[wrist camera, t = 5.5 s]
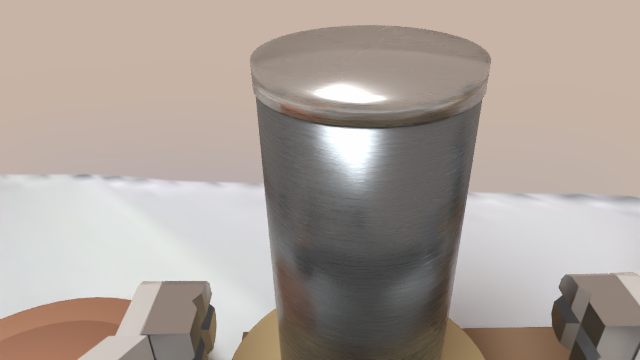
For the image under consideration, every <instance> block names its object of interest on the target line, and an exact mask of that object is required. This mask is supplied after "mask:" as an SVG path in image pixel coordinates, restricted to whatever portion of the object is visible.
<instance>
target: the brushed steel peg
mask: <svg viewBox="0 0 640 360" xmlns="http://www.w3.org/2000/svg"><path fill="white" fill-rule="evenodd" d="M490 63H491V58H490V56H489V54H488V52H487V51H486V50H485V49H483V48H482V47H481V46H479V45H477V44H475V43H474V42H471V41H469V40H467V39H464V38H461V37H458V36H454V35H450V34H447V33H442V32H437V31H432V30H426V29H419V28H410V27H399V26H375V25H367V26H366V25H365V26H364V25H363V26H341V27H329V28H320V29H313V30H307V31H302V32H297V33H293V34H289V35H285V36H282V37H279V38H276V39H273V40H271V41H269V42H266V43H264V44H263V45H261V46H260V47H258V48H257V49H256V50H255V51H254V52H253V53H252V55H251V58H250V65H251V75H252V86H253V91H254V94H255V95H256V102H257V112H258V122H259V123H258V124H259V134H260V145H261V154H262V165H263V175H264V186H265V197H266V207H267V217H268V228H269V238H270V249H271V259H272V269H273V280H274V290H275V301H276V311H277V321H278V332H279V342H280V353H281V360H441V359H442V352H443V346H444V339H445V333H446V327H447V320H448V314H449V308H450V301H451V295H452V289H453V282H454V276H455V269H456V263H457V257H458V250H459V244H460V238H461V231H462V225H463V219H464V212H465V206H466V199H467V193H468V187H469V180H470V174H471V167H472V161H473V155H474V148H475V142H476V136H477V129H478V123H479V116H480V110H481V104H482V99H483V97H484V95H485V93H486V89H487V82H488V76H489V70H490Z"/></svg>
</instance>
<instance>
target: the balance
mask: <svg viewBox="0 0 640 360" xmlns="http://www.w3.org/2000/svg"><path fill="white" fill-rule="evenodd" d="M570 353H571V351H570V350H569V349H567V348H566V347H564V346H563V345H562V344H560V343H559V341H558V339H557V337H556V335H555V332H554V329H553V327H524V328H464V329H461V328H460V327H459V326H458V325H457V324H455V323H454V322H453V321H452V320H451V319H449V318H448V320H447V327H446V333H445V339H444V346H443V352H442V359H441V360H569V357H570ZM232 360H281V353H280V342H279V332H278V321H277V311H276V309H275V310H273V311H272V312H270V313H269V314H268V315H266V316H265V317H264V318H263V319H261V320H260V321H259V322H258V323H257V324H256V325H255V326H254V327H253V328H252V329H251V330H250V332H243V337H242V342H241V344H240V345H239V347H238V349H237V350H236V352H235V354H234V356H233V358H232Z"/></svg>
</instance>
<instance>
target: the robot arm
mask: <svg viewBox="0 0 640 360" xmlns="http://www.w3.org/2000/svg"><path fill="white" fill-rule="evenodd" d="M559 289H560V291H561V292H562V294H563V295H562V296H561V297H560V298H559V299H557V300H556V301H555V302H554V305H553V309H552V313H551V314H552V326H553V329H554V332H555V335H556V337H557V339H558V341H559V343H560V344H562V345H563V346H564V347H566V348H567V349H569V350H570V351H571V353H570V357H569V360H640V276H639V275H637V274H635V273H633V272H628V273H610V274H569V275H565V276H564V277H563V278H562V279H561V282H560V285H559ZM211 295H212V292H211V288H210V284H209V283H208V282H207V281H165V282H149V281H143V282H142V283H141V284H140V285H139V286H138V288H137V290H136V292H135V294H134V297H133V299H132V301H131V303H130V305H129V307H128V309H127V312H126V314H125V316H124V318H123V320H122V322H121V324H120V326H119V329H118V331H117V333H116V335H115V336H108V337H107V338H105V339H104V340H103V341H101V342H100V343H99V344H97V345H96V346H95V347H93V348H92V349H91V350H89V351H88V352H87V353H85V354H84V355H83V356H81V357H80V358H79V359H77V360H208V357H207V354H208V353H209V352H210V351H212V350H213V347H214V342H215V336H216V314H215V308H214V307H213V306H211V305H210V304H209V303H210V299H211Z"/></svg>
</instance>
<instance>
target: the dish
mask: <svg viewBox="0 0 640 360" xmlns="http://www.w3.org/2000/svg"><path fill="white" fill-rule="evenodd" d="M131 301H132V300H126V299H118V298H101V297H95V298H79V299H72V300H66V301H59V302H55V303H50V304H46V305H42V306H38V307H35V308H31V309H28V310H25V311H22V312H19V313H16V314H13V315H11V316H8V317H6V318H3V319H0V360H77V359H79V358H80V357H81V356H83V355H84V354H85V353H87V352H88V351H89V350H91V349H92V348H93V347H95V346H96V345H97V344H99V343H100V342H101V341H103V340H104V339H105V338H107V337H108V336H115V335H116V333H117V331H118V329H119V326H120V324H121V322H122V320H123V318H124V316H125V314H126V312H127V309H128V307H129V305H130V303H131Z"/></svg>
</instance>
